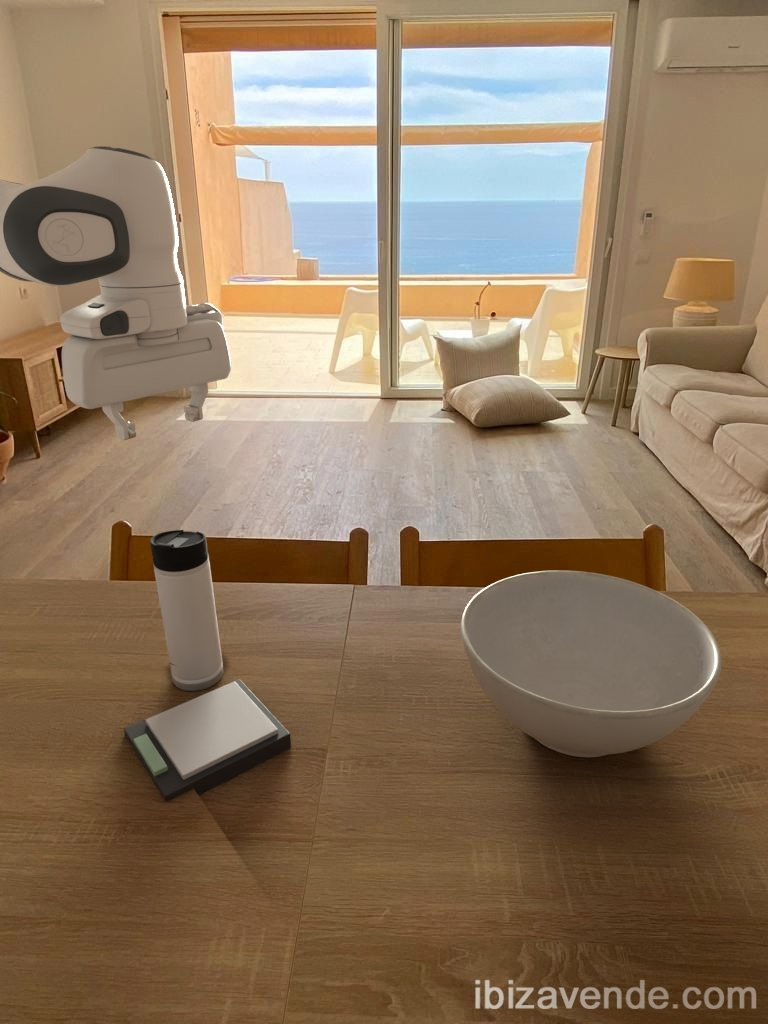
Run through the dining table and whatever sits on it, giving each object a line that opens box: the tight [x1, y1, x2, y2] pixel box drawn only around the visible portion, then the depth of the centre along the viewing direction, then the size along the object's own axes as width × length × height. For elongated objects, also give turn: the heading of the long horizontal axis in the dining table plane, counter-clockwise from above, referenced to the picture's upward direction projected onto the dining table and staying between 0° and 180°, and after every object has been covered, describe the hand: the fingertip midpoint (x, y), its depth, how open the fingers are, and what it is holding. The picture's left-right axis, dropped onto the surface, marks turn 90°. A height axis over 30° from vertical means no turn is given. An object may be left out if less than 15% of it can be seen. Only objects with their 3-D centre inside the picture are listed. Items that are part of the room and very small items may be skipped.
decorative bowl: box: [460, 570, 723, 758], centre depth 77 cm, size 27×27×12 cm
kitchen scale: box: [123, 679, 292, 803], centre depth 76 cm, size 14×12×3 cm
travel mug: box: [149, 529, 224, 692], centre depth 83 cm, size 6×7×20 cm
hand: (162, 428), depth 84 cm, fingers open, 8 cm apart
